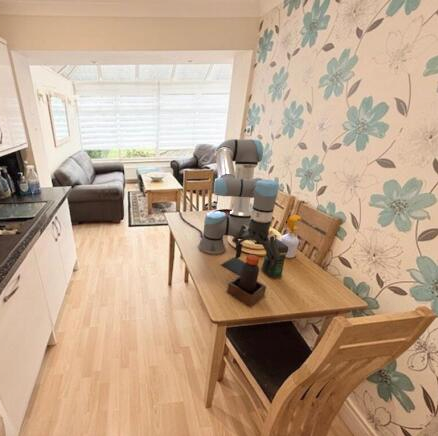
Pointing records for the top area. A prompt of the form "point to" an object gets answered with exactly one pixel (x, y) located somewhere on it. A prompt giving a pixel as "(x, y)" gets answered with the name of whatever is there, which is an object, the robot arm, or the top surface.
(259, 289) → the box
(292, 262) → the top surface
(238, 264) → the mat
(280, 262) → the coffee jar
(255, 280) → the vinegar
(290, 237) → the soap bottle
